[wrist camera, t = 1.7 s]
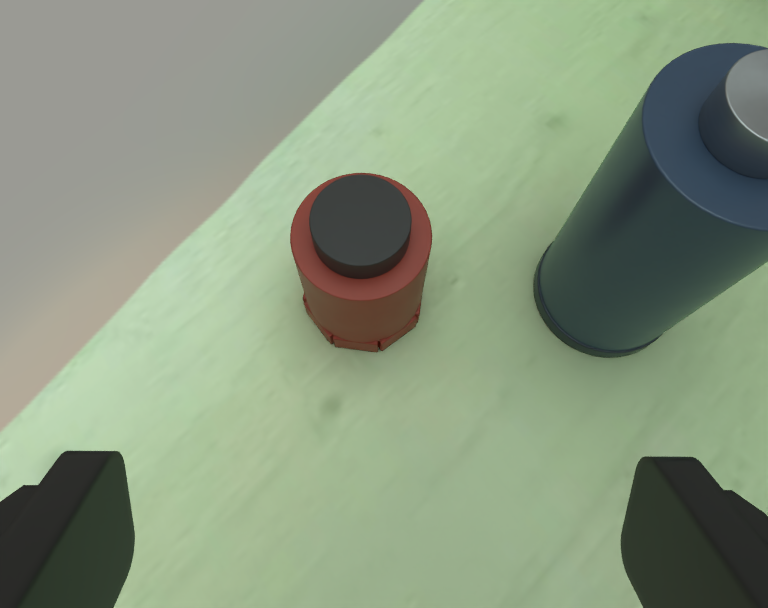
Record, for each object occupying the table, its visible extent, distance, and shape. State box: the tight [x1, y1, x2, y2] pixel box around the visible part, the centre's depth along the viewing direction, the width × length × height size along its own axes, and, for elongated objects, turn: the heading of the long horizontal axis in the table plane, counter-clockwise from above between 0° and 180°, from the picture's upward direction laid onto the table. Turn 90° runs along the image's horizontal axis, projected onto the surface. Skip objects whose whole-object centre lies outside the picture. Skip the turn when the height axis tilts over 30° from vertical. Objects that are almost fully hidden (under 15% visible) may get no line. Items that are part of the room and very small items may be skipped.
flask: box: [534, 43, 768, 357], centre depth 28 cm, size 8×8×17 cm
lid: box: [290, 173, 432, 352], centre depth 31 cm, size 6×6×10 cm
